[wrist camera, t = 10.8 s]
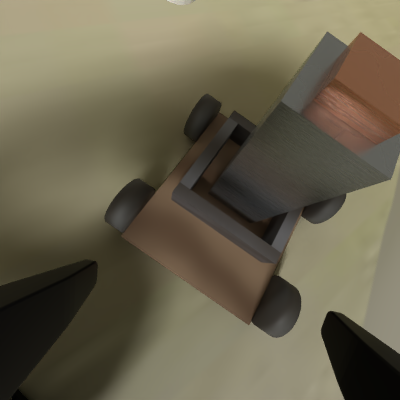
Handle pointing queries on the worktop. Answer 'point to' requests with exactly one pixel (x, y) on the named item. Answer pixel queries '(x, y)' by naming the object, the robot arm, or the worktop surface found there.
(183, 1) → the shot glass
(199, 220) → the chassis
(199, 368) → the worktop surface
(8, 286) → the robot arm
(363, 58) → the engine block
